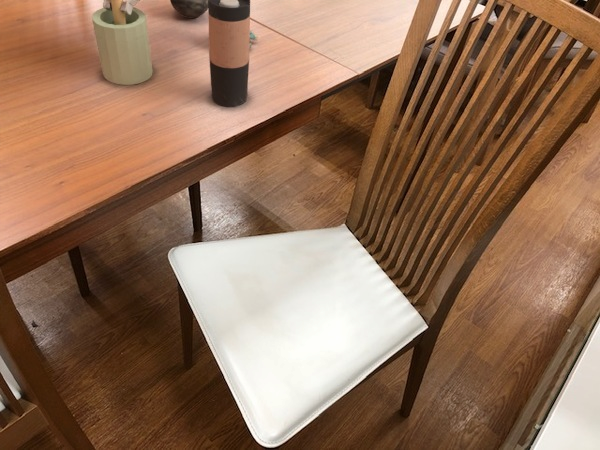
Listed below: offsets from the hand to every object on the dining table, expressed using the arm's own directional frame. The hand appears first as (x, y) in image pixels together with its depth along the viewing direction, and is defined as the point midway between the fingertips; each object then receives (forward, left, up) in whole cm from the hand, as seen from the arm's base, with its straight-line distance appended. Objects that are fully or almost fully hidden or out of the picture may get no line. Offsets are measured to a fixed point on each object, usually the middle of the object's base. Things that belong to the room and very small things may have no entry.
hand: (116, 11), depth 97 cm
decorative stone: (-8, +31, -13) cm, 34 cm away
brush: (0, +1, -11) cm, 11 cm away
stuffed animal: (+9, +26, -13) cm, 30 cm away
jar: (0, +1, -13) cm, 13 cm away
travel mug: (+22, +7, -13) cm, 27 cm away
